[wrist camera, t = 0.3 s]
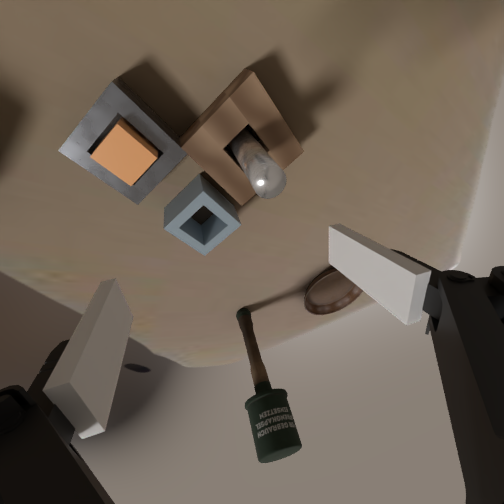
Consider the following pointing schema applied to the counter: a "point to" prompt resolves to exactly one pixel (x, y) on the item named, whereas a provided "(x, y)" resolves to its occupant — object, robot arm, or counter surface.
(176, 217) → the blue square collar
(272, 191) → the peg
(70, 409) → the robot arm
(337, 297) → the plant saucer
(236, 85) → the socket block
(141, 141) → the orange square block
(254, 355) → the potato masher grenade
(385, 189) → the counter surface
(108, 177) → the housing
